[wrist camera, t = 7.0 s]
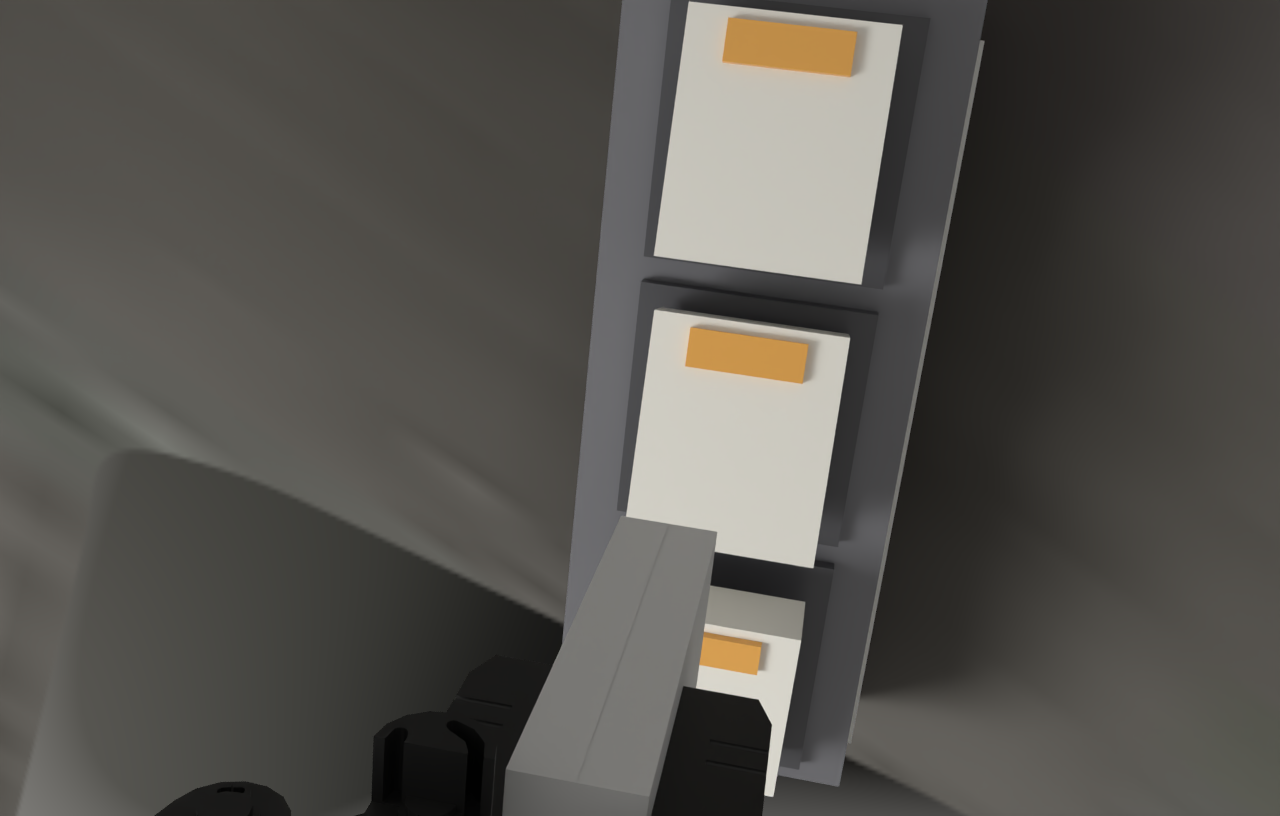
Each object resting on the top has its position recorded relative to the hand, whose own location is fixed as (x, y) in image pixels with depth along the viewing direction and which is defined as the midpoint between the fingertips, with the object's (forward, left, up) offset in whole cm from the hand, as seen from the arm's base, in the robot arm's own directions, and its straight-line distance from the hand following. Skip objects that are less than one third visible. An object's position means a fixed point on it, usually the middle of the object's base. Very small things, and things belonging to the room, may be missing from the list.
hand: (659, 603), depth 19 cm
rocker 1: (0, +6, -14) cm, 15 cm away
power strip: (0, -5, -20) cm, 21 cm away
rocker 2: (0, -2, -14) cm, 14 cm away
